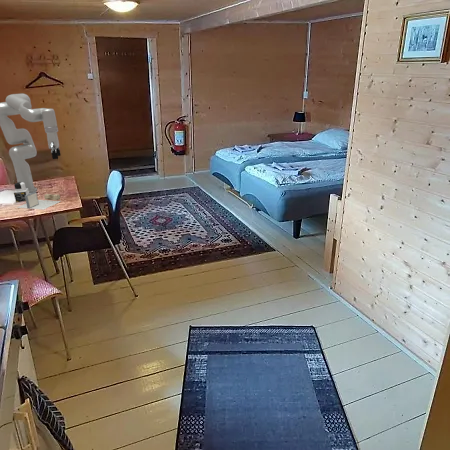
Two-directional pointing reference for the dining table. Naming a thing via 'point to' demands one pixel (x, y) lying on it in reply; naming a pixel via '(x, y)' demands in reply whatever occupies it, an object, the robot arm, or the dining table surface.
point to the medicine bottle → (20, 191)
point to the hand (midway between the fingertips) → (56, 157)
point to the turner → (52, 197)
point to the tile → (31, 200)
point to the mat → (41, 204)
